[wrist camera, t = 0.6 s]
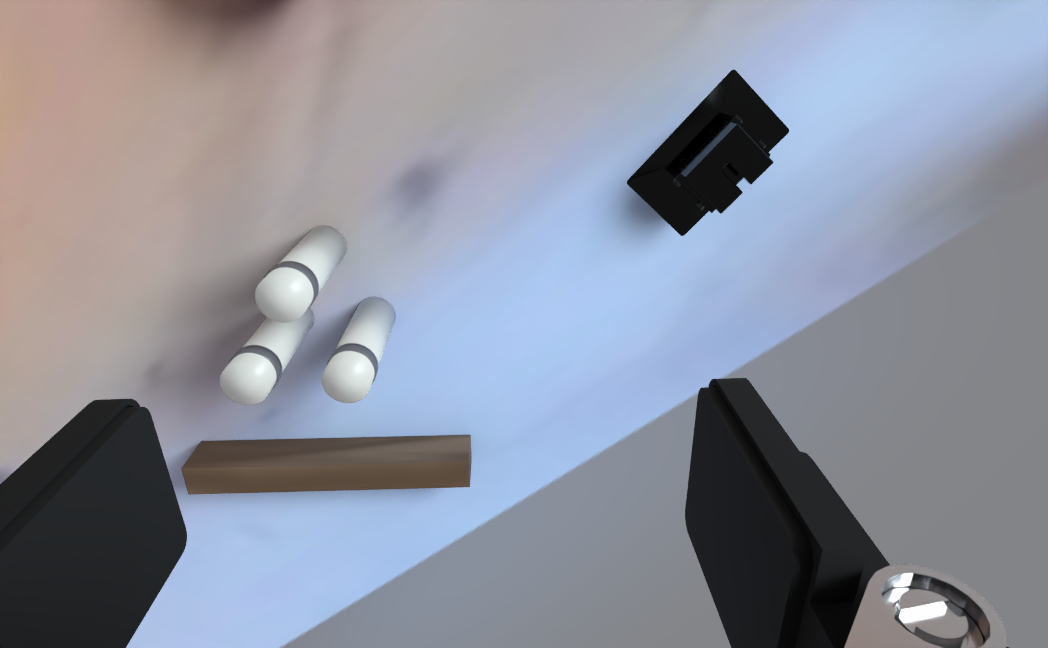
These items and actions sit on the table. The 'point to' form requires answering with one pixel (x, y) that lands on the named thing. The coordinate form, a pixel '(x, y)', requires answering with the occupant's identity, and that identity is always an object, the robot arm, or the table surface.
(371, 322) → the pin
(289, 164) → the table surface
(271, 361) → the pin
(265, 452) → the back wall
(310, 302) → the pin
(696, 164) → the black boxy piece
